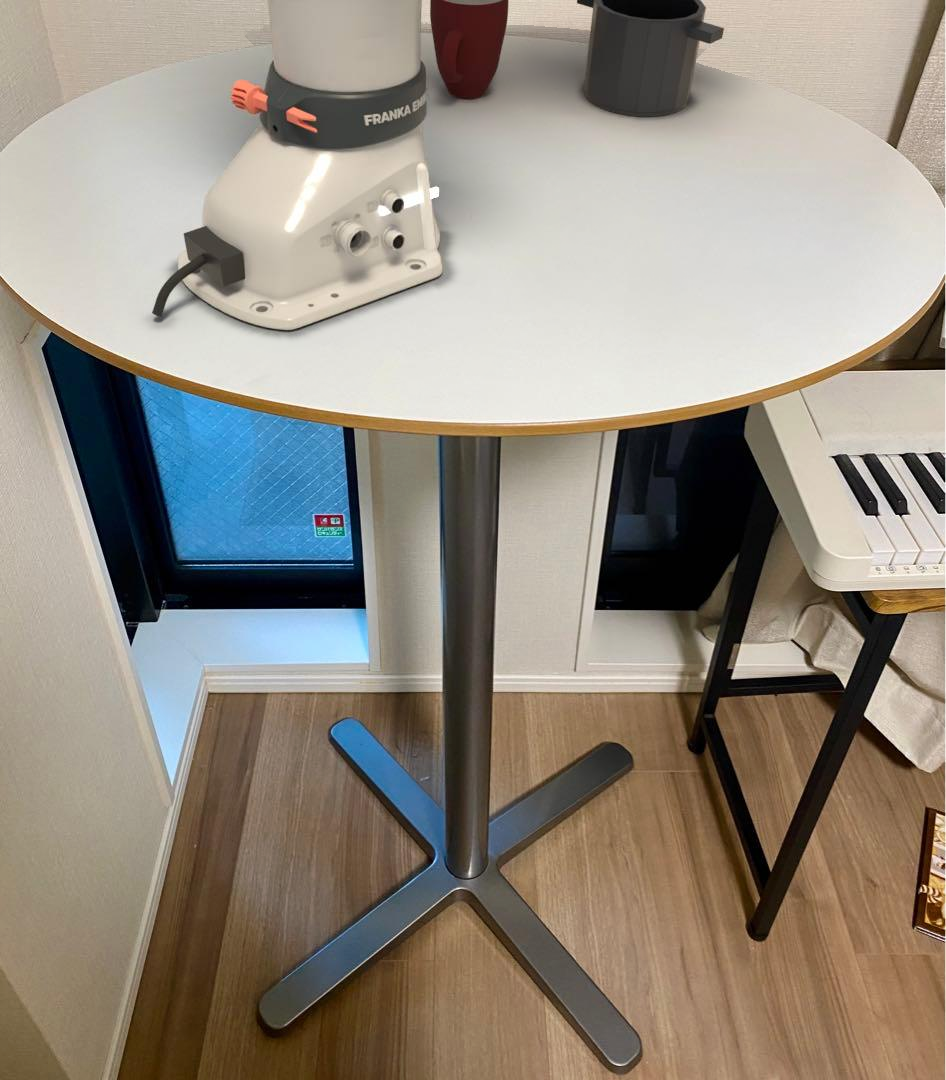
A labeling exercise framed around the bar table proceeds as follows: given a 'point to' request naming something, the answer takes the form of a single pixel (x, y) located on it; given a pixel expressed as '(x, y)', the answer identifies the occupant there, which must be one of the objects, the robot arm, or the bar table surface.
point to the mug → (468, 43)
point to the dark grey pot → (644, 54)
